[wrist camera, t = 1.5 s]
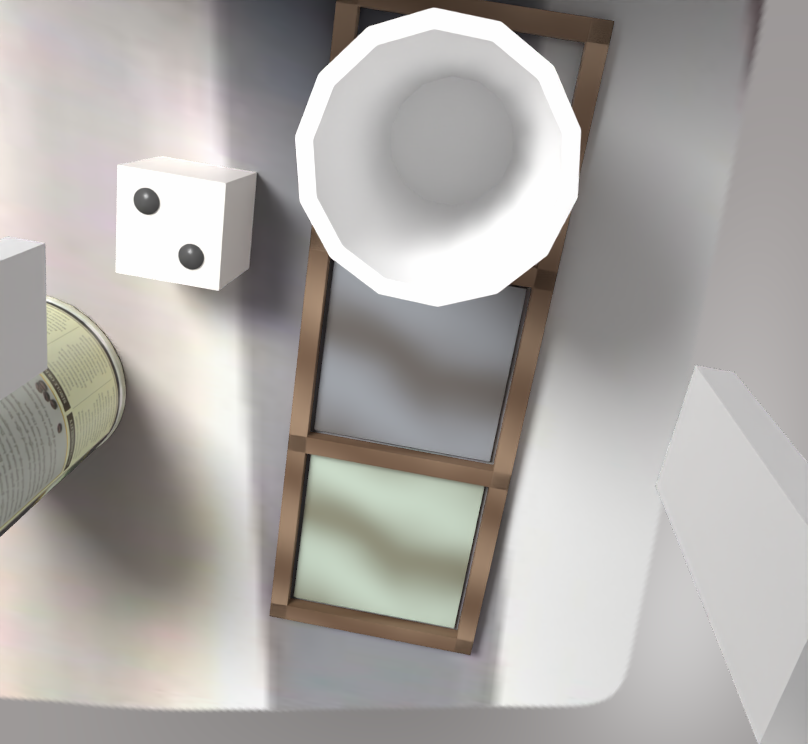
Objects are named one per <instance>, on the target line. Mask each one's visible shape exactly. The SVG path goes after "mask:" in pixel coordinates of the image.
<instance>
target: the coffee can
mask: <svg viewBox="0 0 808 744" xmlns="http://www.w3.org/2000/svg"><path fill="white" fill-rule="evenodd" d="M46 311H47V368H48V369H46V370H45V371H43V372H42V373H40V374H39V375H37V376H36V377H34V378H33V379H31V380H30V381H28V382H27V383H25V384H24V385H22V386H21V387H19V388H18V389H17V390H15V391H14V392H12V393H11V394H9V395H8V396H6V397H5V398H3V399H2V400H0V536H1V535H3V534H4V533H5V532H6V531H7V530H8V529H9V528H10V527H11V526H13V525H14V524H15V523H16V522H17V521H18V520H19V519H20V518H21V517H22V516H23V515H24V514H25V513H26V512H27V511H28V510H29V509H30V508H31V507H33V506H34V505H35V504H36V503H37V502H38V501H39V500H40V499H41V498H42V497H43V496H45V495H46V494H47V493H48V492H49V491H50V490H51V489H52V488H53V487H54V486H55V485H56V484H57V483H59V482H60V481H61V480H62V479H63V478H64V477H65V476H66V475H67V474H69V473H70V472H71V471H72V470H73V469H74V468H75V467H76V466H77V465H78V464H79V463H81V462H82V461H83V460H84V459H85V458H86V457H87V456H88V455H89V454H90V453H91V452H92V451H93V450H95V449H96V448H98V447H99V446H100V445H102V444H103V443H104V442H105V441H106V440H107V439H108V438H109V437H110V436H111V435H112V433H113V432H114V430H115V429H116V428H117V426H118V424H119V422H120V420H121V417H122V414H123V410H124V407H125V399H126V386H125V379H124V373H123V369H122V365H121V362H120V360H119V358H118V356H117V354H116V352H115V351H114V348H113V346H112V344H111V343H110V341H109V340H108V338H107V337H106V336H105V334H104V333H103V332H102V331H101V330H100V329H99V327H98V326H97V325H96V324H95V323H94V322H93V321H91V320H90V319H89V318H88V317H87V316H86V315H84V314H83V313H81V312H80V311H78V310H77V309H76V308H74V307H73V306H71V305H69V304H66V303H64V302H62V301H60V300H58V299H55V298H52V297H49V296H46Z"/></svg>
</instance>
